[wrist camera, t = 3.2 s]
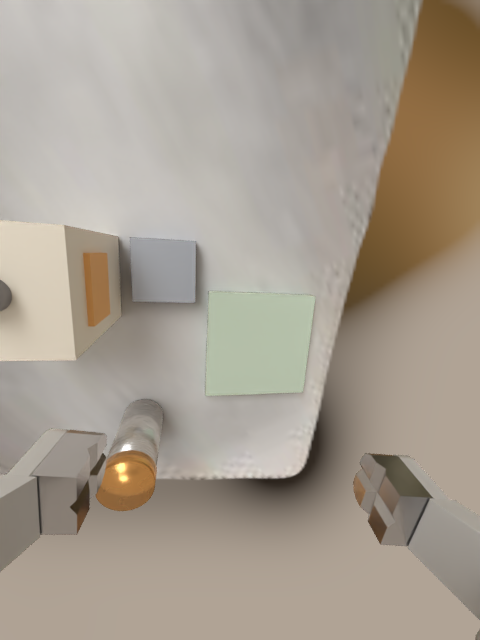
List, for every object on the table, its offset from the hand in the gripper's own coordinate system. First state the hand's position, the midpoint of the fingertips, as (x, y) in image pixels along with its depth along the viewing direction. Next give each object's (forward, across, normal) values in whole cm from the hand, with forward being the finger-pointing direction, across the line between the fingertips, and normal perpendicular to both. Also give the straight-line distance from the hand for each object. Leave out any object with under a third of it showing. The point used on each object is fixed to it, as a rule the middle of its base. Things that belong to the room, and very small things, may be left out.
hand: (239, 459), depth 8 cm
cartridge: (+21, -7, -14) cm, 26 cm away
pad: (+22, +5, -4) cm, 23 cm away
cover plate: (+22, -6, +3) cm, 23 cm away
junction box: (+21, -15, +1) cm, 26 cm away
